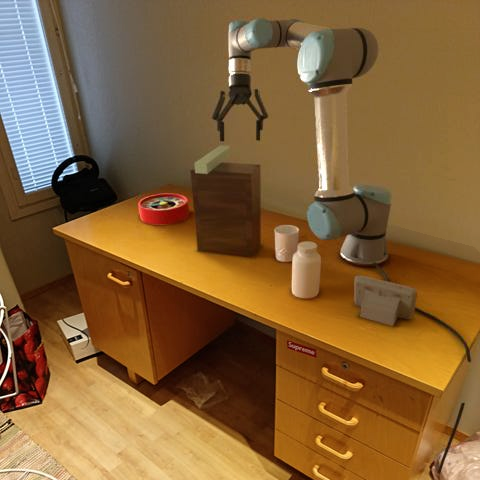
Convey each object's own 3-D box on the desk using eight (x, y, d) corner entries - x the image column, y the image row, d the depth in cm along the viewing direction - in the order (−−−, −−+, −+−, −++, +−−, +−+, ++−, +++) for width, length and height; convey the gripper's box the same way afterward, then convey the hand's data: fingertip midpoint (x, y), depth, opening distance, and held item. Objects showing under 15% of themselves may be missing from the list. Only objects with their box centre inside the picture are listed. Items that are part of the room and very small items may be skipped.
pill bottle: (300, 282, 135) (303, 236, 127) (323, 290, 131) (328, 243, 123) (285, 293, 130) (287, 246, 122) (309, 302, 126) (312, 254, 118)
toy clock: (192, 206, 176) (141, 213, 171) (193, 220, 179) (143, 227, 174) (182, 191, 192) (135, 196, 187) (183, 204, 195) (137, 210, 190)
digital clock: (416, 318, 118) (424, 283, 112) (400, 334, 113) (408, 298, 107) (361, 297, 127) (366, 264, 121) (344, 311, 122) (349, 276, 116)
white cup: (296, 263, 146) (297, 235, 140) (272, 262, 147) (272, 233, 142) (298, 253, 152) (300, 225, 146) (275, 251, 154) (276, 224, 148)
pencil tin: (207, 173, 136) (206, 163, 134) (195, 173, 137) (194, 162, 135) (231, 155, 153) (230, 146, 151) (220, 154, 154) (219, 145, 152)
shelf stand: (252, 258, 150) (251, 173, 134) (197, 251, 156) (190, 169, 140) (260, 245, 158) (260, 164, 142) (208, 239, 163) (202, 161, 148)
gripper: (277, 74, 155) (276, 140, 161) (210, 78, 162) (211, 141, 168) (272, 70, 148) (271, 139, 155) (202, 74, 155) (203, 140, 162)
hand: (239, 140), depth 161 cm, fingers open, 13 cm apart
